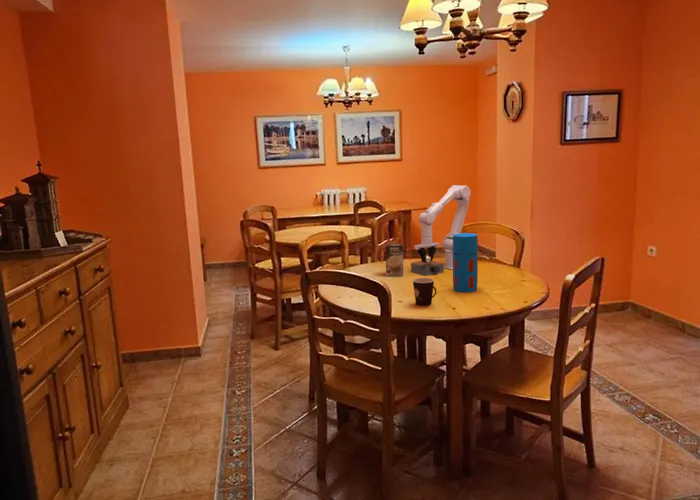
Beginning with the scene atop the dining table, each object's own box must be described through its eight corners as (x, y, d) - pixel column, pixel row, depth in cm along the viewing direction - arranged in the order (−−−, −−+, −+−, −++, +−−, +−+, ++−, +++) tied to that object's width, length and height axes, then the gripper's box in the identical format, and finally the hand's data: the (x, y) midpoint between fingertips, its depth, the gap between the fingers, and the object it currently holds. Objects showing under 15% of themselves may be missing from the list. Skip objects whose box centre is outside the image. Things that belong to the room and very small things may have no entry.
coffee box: (385, 276, 263) (384, 245, 260) (386, 273, 269) (385, 243, 266) (403, 276, 262) (403, 245, 259) (403, 273, 268) (403, 243, 265)
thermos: (478, 287, 236) (478, 233, 232) (476, 293, 226) (476, 237, 222) (454, 286, 240) (454, 232, 235) (451, 292, 230) (451, 236, 225)
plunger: (427, 269, 272) (427, 255, 271) (432, 270, 268) (432, 256, 267) (421, 270, 270) (421, 256, 269) (426, 271, 267) (426, 257, 265)
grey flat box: (429, 268, 277) (429, 259, 277) (446, 273, 265) (446, 264, 265) (411, 271, 272) (410, 262, 271) (427, 276, 260) (427, 267, 259)
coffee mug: (411, 301, 218) (410, 278, 216) (431, 300, 218) (431, 277, 216) (417, 309, 206) (416, 285, 204) (438, 308, 207) (438, 284, 205)
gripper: (433, 233, 273) (433, 258, 275) (410, 236, 266) (411, 262, 268) (441, 234, 267) (441, 260, 269) (419, 238, 260) (419, 264, 262)
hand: (427, 261), depth 268 cm, fingers closed on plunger, 4 cm apart
